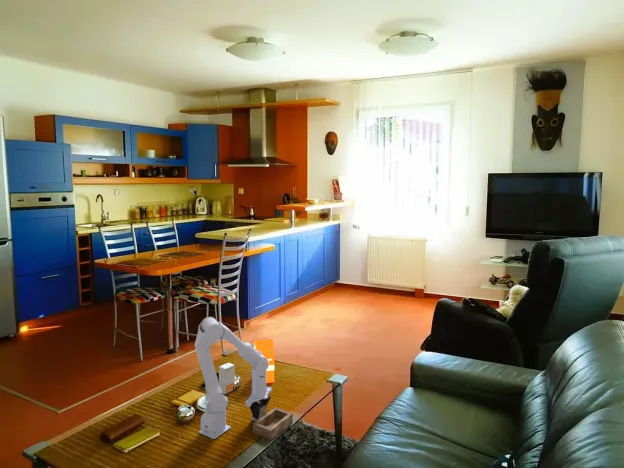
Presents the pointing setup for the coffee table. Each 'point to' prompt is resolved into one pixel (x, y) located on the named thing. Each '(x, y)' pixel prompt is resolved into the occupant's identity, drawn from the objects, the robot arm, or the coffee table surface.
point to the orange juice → (267, 356)
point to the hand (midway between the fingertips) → (259, 415)
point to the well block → (272, 423)
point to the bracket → (261, 411)
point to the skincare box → (226, 377)
